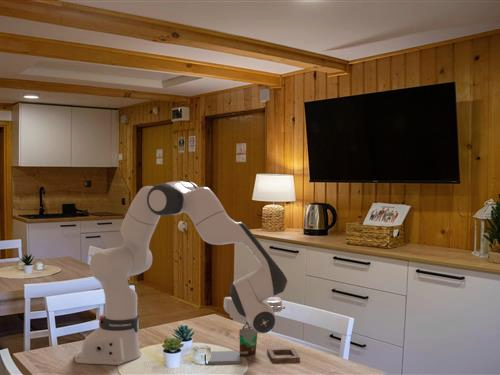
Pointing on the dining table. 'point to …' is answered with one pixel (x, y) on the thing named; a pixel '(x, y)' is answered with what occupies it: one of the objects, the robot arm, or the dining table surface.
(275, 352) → the board
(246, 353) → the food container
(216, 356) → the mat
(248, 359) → the dining table surface
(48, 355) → the dining table surface
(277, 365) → the dining table surface
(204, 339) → the dining table surface
